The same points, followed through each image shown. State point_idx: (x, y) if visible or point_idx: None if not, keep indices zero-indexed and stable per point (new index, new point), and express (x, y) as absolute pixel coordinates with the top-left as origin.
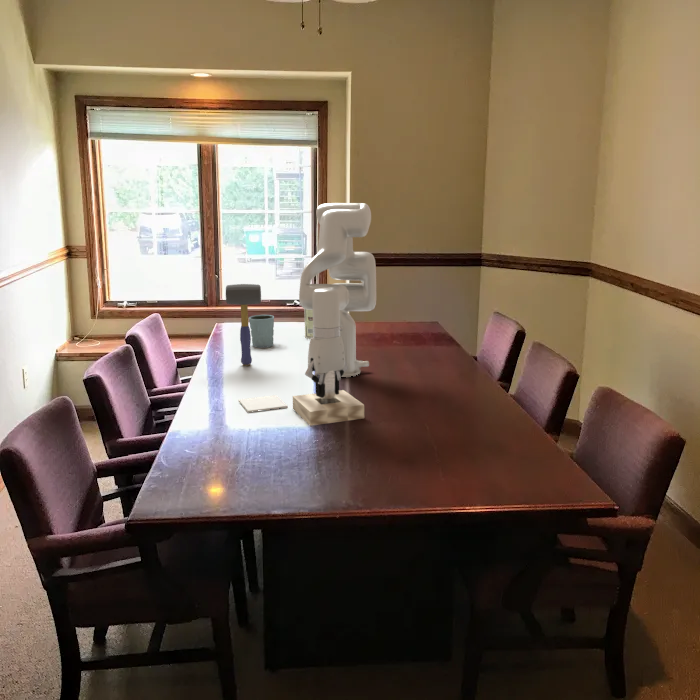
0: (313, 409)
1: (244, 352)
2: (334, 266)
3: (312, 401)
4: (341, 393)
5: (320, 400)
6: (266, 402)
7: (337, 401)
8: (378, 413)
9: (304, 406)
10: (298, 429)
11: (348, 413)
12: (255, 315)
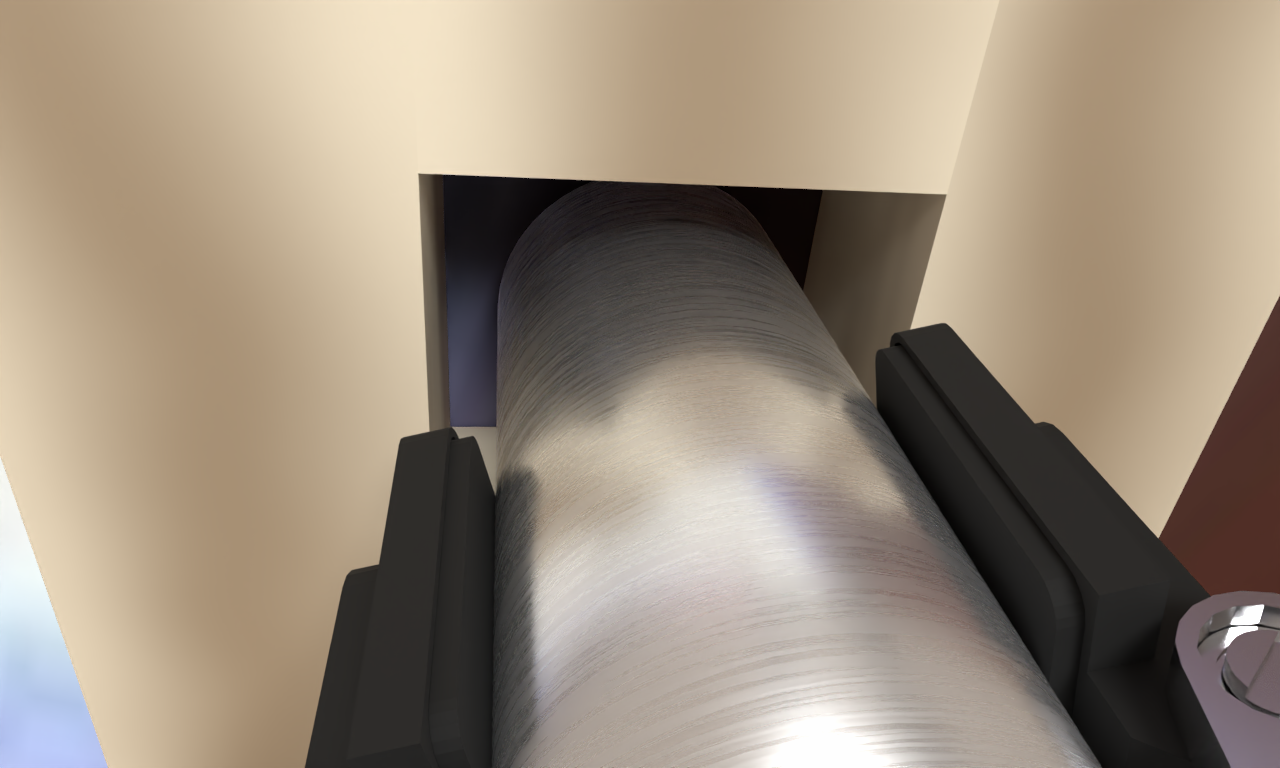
0: (211, 759)
1: None
2: None
3: (310, 355)
4: (1254, 44)
5: (497, 416)
6: None
7: (870, 384)
8: (1218, 518)
9: (54, 587)
10: (5, 693)
11: None
12: None
